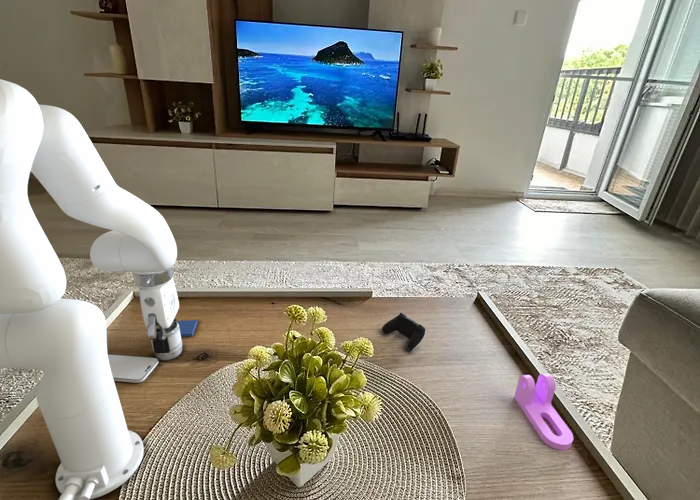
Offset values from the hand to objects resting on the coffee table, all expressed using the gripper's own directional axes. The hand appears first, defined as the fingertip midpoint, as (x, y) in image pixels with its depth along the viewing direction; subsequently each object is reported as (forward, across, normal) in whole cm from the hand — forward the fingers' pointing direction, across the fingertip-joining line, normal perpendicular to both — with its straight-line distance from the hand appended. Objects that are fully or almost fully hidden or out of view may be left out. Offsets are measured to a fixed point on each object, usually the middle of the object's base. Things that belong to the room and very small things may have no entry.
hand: (167, 342), depth 92 cm
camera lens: (+3, 0, 0) cm, 3 cm away
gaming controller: (+3, 0, -57) cm, 57 cm away
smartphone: (+3, -5, +9) cm, 11 cm away
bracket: (+3, -29, -78) cm, 83 cm away
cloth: (+3, +9, -1) cm, 9 cm away
